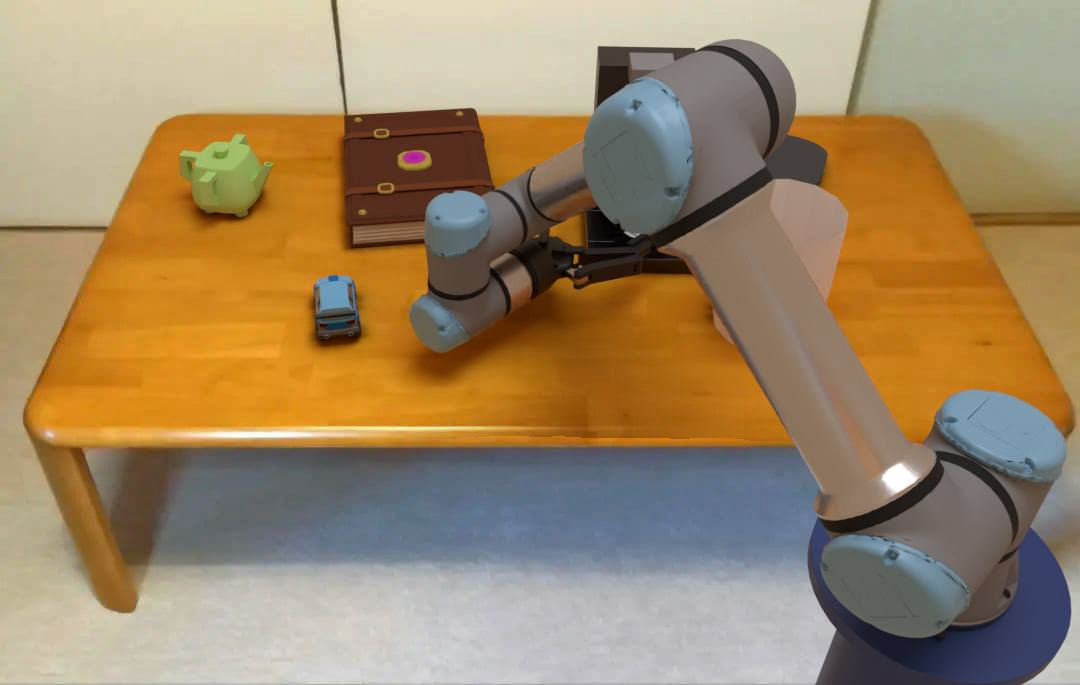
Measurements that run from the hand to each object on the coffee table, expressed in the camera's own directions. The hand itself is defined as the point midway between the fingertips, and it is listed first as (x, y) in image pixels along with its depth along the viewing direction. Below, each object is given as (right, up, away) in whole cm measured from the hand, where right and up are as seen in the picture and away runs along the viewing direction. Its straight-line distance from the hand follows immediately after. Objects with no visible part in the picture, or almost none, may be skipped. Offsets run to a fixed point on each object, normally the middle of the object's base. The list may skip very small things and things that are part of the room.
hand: (622, 211), depth 144 cm
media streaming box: (+27, +10, +23) cm, 37 cm away
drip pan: (+3, -3, +8) cm, 9 cm away
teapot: (-59, +3, +13) cm, 60 cm away
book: (-31, +6, +18) cm, 36 cm away
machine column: (+3, +2, +14) cm, 15 cm away
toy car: (-39, -15, -7) cm, 42 cm away
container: (+19, -16, -5) cm, 25 cm away
